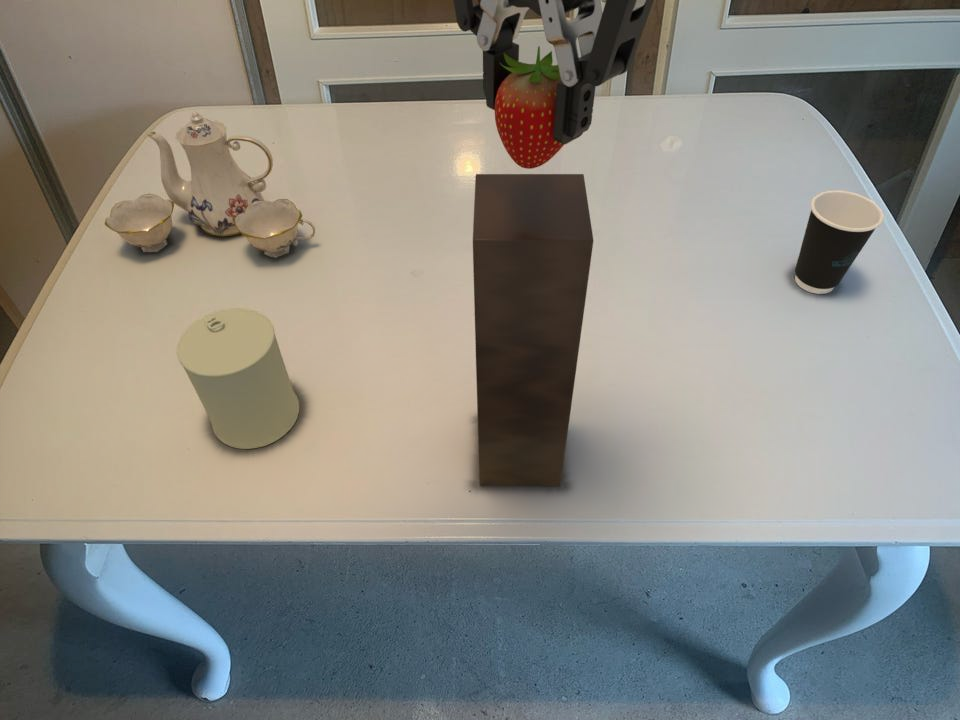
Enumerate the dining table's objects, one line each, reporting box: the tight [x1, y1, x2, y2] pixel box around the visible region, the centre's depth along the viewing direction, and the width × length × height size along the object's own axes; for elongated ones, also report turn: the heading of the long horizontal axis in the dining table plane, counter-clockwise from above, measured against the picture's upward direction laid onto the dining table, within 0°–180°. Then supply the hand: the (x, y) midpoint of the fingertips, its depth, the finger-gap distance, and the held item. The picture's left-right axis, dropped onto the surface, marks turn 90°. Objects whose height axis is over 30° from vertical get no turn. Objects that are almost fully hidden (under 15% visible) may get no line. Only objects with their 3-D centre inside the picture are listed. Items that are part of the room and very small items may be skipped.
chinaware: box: [104, 111, 316, 259], centre depth 90 cm, size 28×17×17 cm, turn 91°
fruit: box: [494, 45, 565, 170], centre depth 43 cm, size 5×5×8 cm
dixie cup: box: [794, 189, 885, 295], centre depth 83 cm, size 8×8×11 cm
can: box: [176, 307, 300, 450], centre depth 69 cm, size 9×9×12 cm
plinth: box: [472, 173, 594, 487], centre depth 59 cm, size 8×8×30 cm
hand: (534, 120), depth 43 cm, fingers closed on fruit, 5 cm apart
